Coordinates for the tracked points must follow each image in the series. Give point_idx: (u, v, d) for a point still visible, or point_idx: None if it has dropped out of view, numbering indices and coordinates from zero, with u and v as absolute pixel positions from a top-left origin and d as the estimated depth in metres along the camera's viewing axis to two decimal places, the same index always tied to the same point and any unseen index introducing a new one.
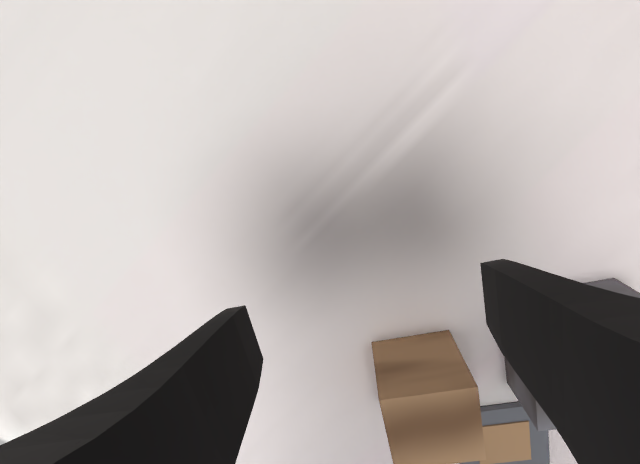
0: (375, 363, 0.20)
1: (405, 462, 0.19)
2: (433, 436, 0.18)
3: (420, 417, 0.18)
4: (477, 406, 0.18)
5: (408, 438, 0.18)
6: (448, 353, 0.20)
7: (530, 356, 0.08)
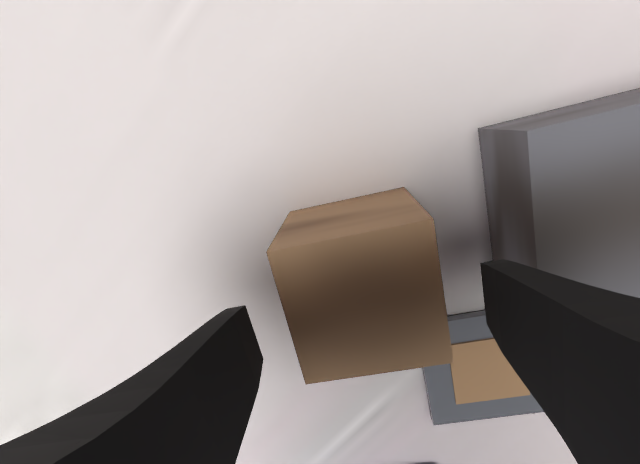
0: (283, 224, 0.13)
1: (321, 370, 0.12)
2: (363, 321, 0.11)
3: (338, 283, 0.11)
4: (434, 259, 0.10)
5: (322, 326, 0.11)
6: (396, 201, 0.12)
7: (530, 355, 0.08)
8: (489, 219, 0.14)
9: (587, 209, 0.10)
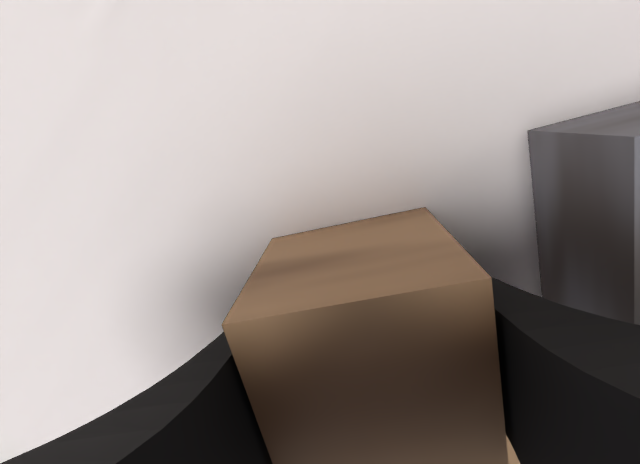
0: (259, 264, 0.09)
1: None
2: (374, 424, 0.07)
3: (335, 371, 0.07)
4: (489, 339, 0.06)
5: (311, 429, 0.07)
6: (420, 233, 0.09)
7: None
8: (540, 252, 0.11)
9: None
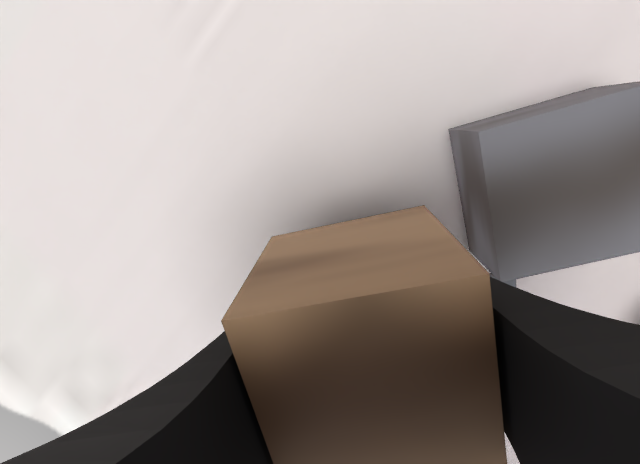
0: (258, 262, 0.09)
1: None
2: (373, 421, 0.07)
3: (334, 367, 0.07)
4: (487, 334, 0.06)
5: (311, 426, 0.07)
6: (419, 230, 0.09)
7: None
8: (462, 203, 0.17)
9: (529, 191, 0.13)
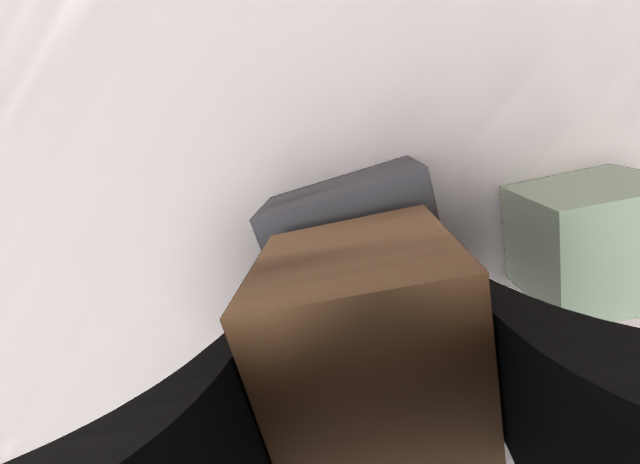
0: (257, 260, 0.09)
1: None
2: (372, 419, 0.07)
3: (333, 365, 0.07)
4: (486, 333, 0.06)
5: (309, 424, 0.07)
6: (418, 230, 0.09)
7: None
8: None
9: None
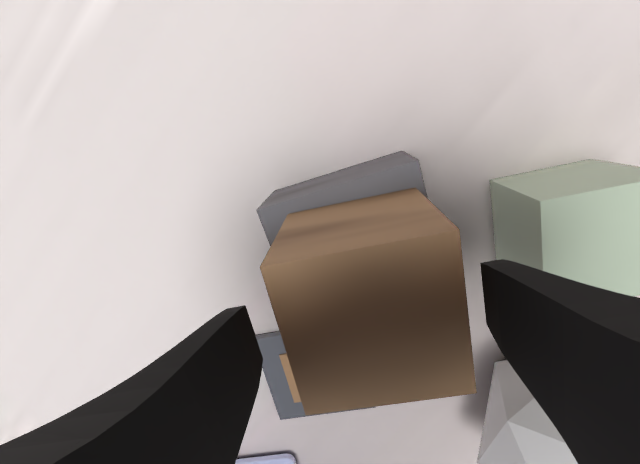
0: (280, 231, 0.11)
1: (324, 400, 0.10)
2: (373, 346, 0.09)
3: (344, 303, 0.09)
4: (458, 276, 0.09)
5: (325, 351, 0.09)
6: (410, 205, 0.11)
7: (531, 356, 0.08)
8: None
9: None
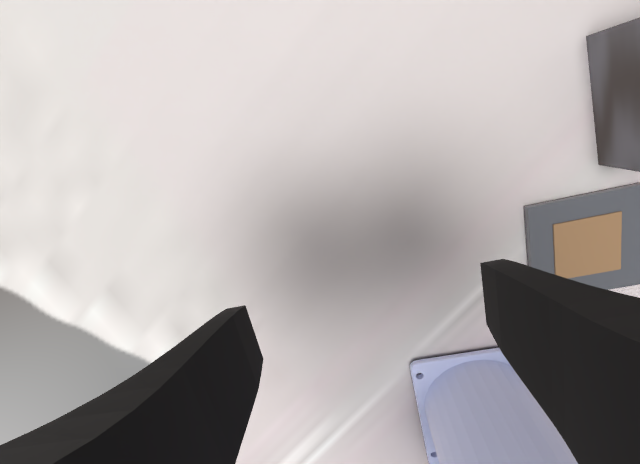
0: None
1: None
2: None
3: None
4: None
5: None
6: None
7: (530, 356, 0.08)
8: (595, 114, 0.18)
9: None
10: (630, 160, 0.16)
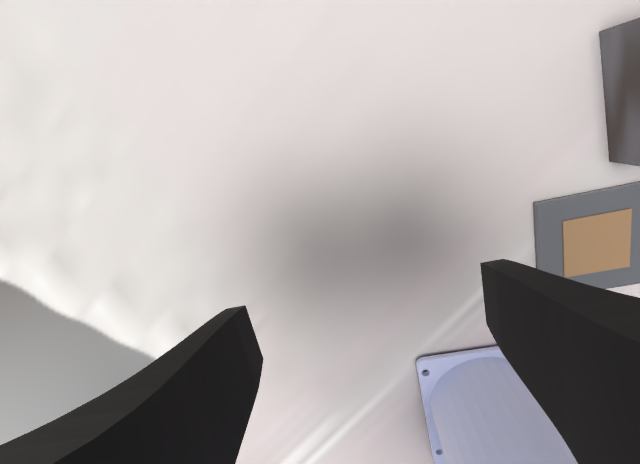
0: None
1: None
2: None
3: None
4: None
5: None
6: None
7: (530, 355, 0.08)
8: (606, 110, 0.17)
9: None
10: None
